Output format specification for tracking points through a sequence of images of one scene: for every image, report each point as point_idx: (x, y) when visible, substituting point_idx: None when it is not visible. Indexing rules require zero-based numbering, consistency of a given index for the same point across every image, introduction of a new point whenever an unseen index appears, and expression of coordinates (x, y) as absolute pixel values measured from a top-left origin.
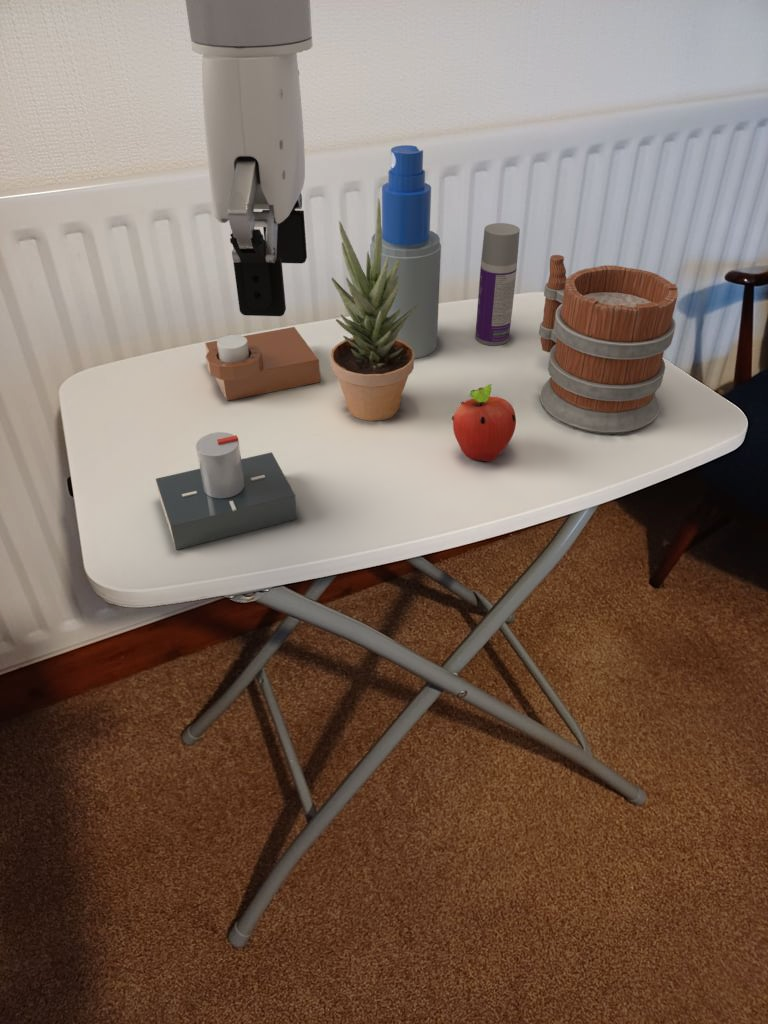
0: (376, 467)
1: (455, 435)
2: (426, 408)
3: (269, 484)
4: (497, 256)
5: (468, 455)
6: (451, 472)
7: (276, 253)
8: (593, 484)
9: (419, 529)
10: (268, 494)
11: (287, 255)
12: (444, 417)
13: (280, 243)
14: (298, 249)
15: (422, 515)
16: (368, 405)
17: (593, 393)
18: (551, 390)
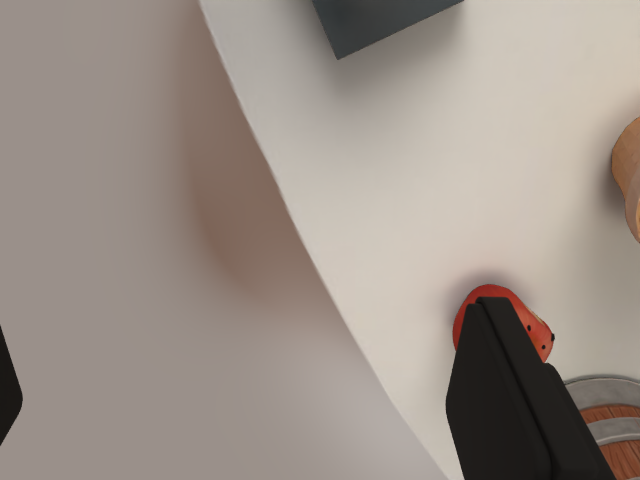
0: (470, 164)
1: (489, 294)
2: (630, 233)
3: (369, 6)
4: None
5: (470, 293)
6: (446, 265)
7: (468, 354)
8: (407, 407)
9: (316, 226)
10: (338, 9)
11: (461, 382)
12: (596, 258)
13: (477, 402)
14: (458, 435)
15: (347, 230)
16: (623, 159)
17: None
18: (601, 402)
